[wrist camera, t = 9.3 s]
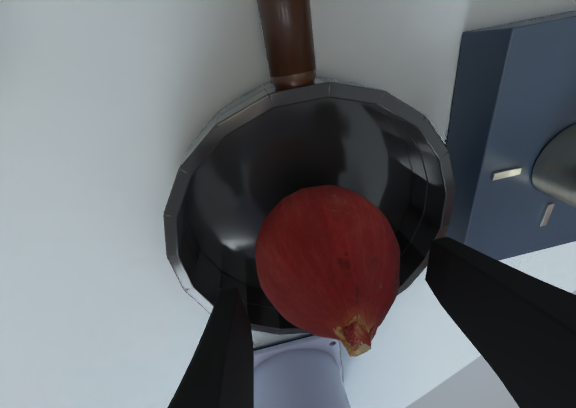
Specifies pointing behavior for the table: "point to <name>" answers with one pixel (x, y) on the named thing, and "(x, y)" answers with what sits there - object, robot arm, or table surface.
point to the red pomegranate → (329, 264)
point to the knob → (558, 168)
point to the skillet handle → (288, 42)
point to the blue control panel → (511, 134)
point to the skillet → (301, 182)
